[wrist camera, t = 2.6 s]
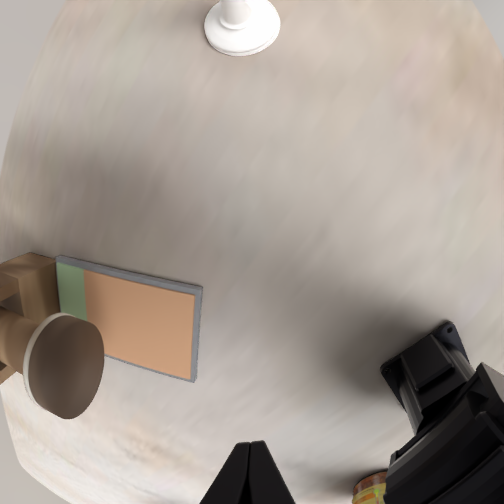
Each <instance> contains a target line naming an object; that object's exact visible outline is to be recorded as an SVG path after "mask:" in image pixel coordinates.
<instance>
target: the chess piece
mask: <svg viewBox="0 0 504 504" xmlns="http://www.w3.org/2000/svg"><path fill="white" fill-rule="evenodd" d="M204 30H205V34H206V37H207V39H208V41H209V43H210V44H211V45H212V46H213V47H214V48H215V49H216V50H218V51H219V52H221V53H224V54H227V55H231V56H247V55H252V54H255V53H258V52H260V51H262V50H264V49H265V48H267V47H268V46H269V45H270V44H271V43H272V42H273V41H274V40H275V39H276V37H277V35H278V33H279V30H280V18H279V15H278V13H277V11H276V9H275V8H274V6H273V5H272V4H271V3H270V2H269V1H267V0H220V1H219V2H218V3H217V4H215V5H214V6H213V7H212V8H211V10H210V11H209V12H208V14H207V16H206V19H205V23H204Z"/></svg>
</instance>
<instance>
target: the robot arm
mask: <svg viewBox="0 0 504 504" xmlns="http://www.w3.org/2000/svg"><path fill="white" fill-rule="evenodd" d="M449 327H450V329H449V330H447V329H448V328H449ZM388 368H389V370H387V371H385V370H386V369H388ZM380 370H381V373H382V375H383V377H384V378H385V380H386V382H387V383H388V385H389V386H390V388H391V389H392V391H393V392H394V394H395V395H396V397H397V398H398V400H399V402H400V403H401V405H402V406H403V408H404V409H405V411H406V413H407V414H408V417H409V420H410V423H411V426H412V429H413V432H414V434H415V436H414V437H413V438H412V439H411V440H410V441H409V442H408V443H407V444H405V445H404V446H403V447H402V448H401V449H400V450H397V451H395V452H394V453H393V454H392V455H391V459H390V465H389V468H388V471H387V474H386V478H385V483H386V488H385V494H383V501H384V504H504V376H503V375H502V374H500V373H499V372H497V371H495V370H494V369H492V368H491V367H489V366H487V365H486V364H484V363H483V362H481V363H480V365H479V366H478V367H477V368H476V370H477V371H476V372H475V371H474V369H473V368H472V367H471V365H470V363H469V360H468V358H467V355H466V352H465V350H464V347H463V344H462V342H461V339H460V337H459V334H458V332H457V329H456V327H455V325H454V324H453V323H452V322H450V321H449V322H446V323H445V324H443V325H442V326H441V327H439V328H438V329H436V330H435V331H434V332H432V333H431V334H429V335H428V336H426V337H425V338H423V339H422V340H420V341H419V342H417V343H416V344H414V345H413V346H411V347H410V348H408V349H407V350H405V351H404V352H402V353H401V354H399V355H398V356H396V357H394V358H393V359H391V360H389V361H388V362H386V363H385V364H383V365H382V366H381V368H380ZM199 504H296V503H295V502H294V500H293V498H292V496H291V494H290V492H289V490H288V488H287V486H286V484H285V482H284V480H283V478H282V476H281V474H280V472H279V470H278V468H277V466H276V464H275V462H274V460H273V458H272V456H271V454H270V451H269V449H268V447H267V445H266V443H265V441H263V440H261V441H253V442H251V443H250V442H241V443H237V444H236V445H235V447H234V449H233V450H232V452H231V454H230V455H229V457H228V459H227V460H226V462H225V464H224V465H223V467H222V469H221V470H220V472H219V473H218V475H217V477H216V478H215V480H214V482H213V483H212V485H211V486H210V488H209V489H208V491H207V493H206V494H205V496H204V497H203V499H202V500H201V502H200V503H199Z"/></svg>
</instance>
